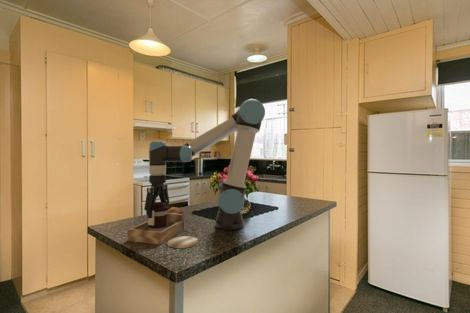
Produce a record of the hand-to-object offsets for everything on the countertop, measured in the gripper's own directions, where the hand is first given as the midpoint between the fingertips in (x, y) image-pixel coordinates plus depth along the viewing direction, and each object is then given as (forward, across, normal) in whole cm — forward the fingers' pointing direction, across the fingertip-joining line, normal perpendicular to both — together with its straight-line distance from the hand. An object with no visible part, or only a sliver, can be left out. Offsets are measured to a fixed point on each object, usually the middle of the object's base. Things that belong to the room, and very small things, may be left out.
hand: (157, 221), depth 121 cm
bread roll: (+7, -32, -9) cm, 34 cm away
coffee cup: (+6, 0, 0) cm, 6 cm away
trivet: (+6, +6, +16) cm, 18 cm away
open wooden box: (+6, 0, 0) cm, 6 cm away
